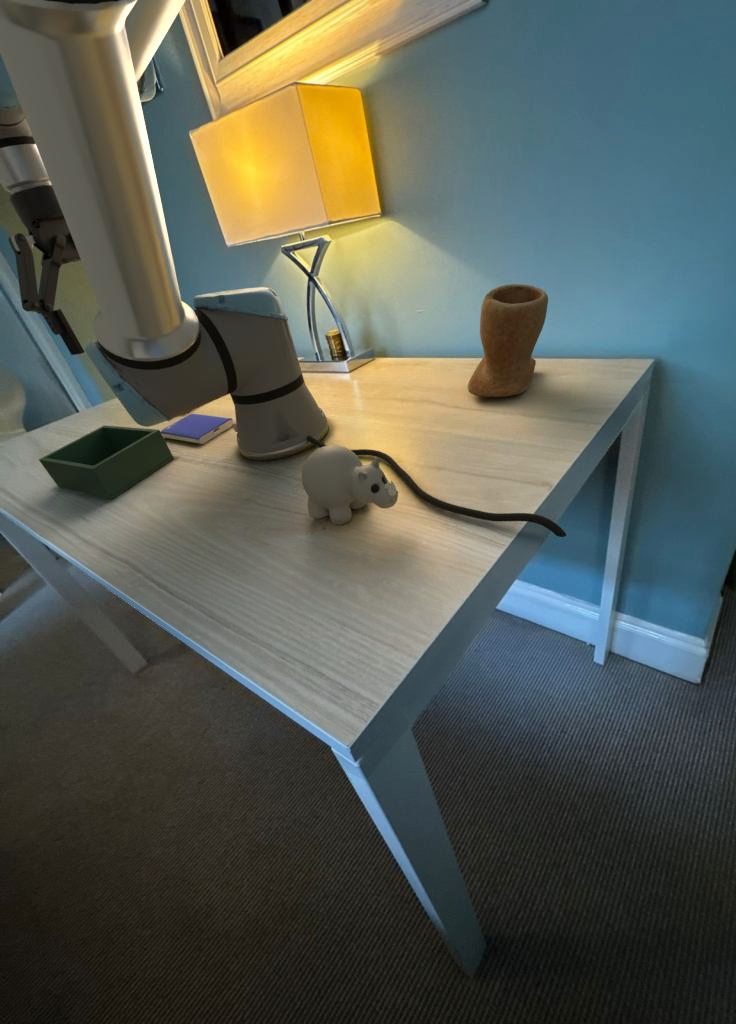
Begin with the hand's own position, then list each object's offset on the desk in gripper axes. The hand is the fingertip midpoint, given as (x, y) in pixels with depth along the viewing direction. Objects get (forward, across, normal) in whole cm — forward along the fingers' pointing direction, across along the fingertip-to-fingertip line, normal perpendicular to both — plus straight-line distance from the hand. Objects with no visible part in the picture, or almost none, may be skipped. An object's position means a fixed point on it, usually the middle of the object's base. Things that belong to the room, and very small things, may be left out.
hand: (114, 340), depth 75 cm
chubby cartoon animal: (+20, +14, +51) cm, 57 cm away
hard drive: (+19, -4, +6) cm, 20 cm away
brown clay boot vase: (+20, -25, +60) cm, 67 cm away
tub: (+19, +12, +1) cm, 23 cm away
